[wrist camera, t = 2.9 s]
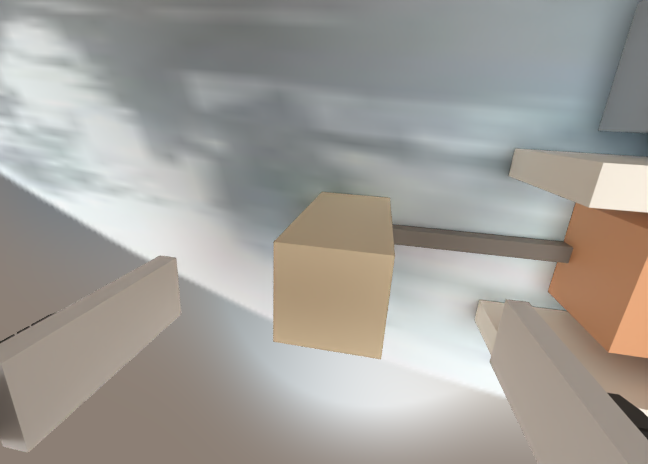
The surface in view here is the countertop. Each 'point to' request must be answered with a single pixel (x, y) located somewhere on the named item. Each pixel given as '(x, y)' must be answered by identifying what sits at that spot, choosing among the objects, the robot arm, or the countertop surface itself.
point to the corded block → (380, 236)
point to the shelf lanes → (594, 192)
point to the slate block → (630, 81)
